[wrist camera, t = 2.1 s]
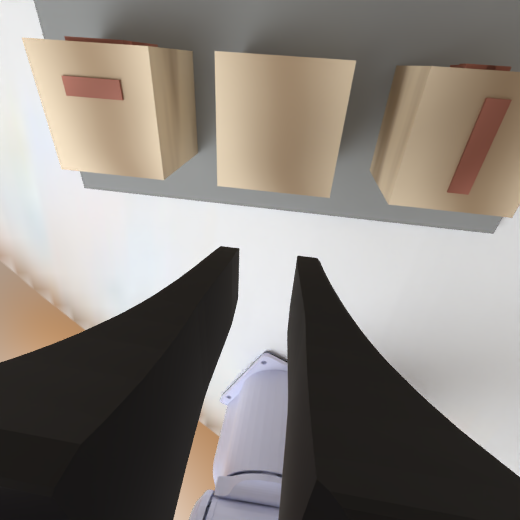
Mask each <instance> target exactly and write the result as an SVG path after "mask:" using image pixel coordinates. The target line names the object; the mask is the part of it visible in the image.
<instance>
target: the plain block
mask: <svg viewBox="0 0 520 520" xmlns="http://www.w3.org/2000/svg"><path fill="white" fill-rule="evenodd" d="M355 65H356V60H341V59H326V58H311V57H296V56H282V55H267V54H252V53H237V52H222V51H215V96H216V145H217V186H222V187H231V188H240V189H250V190H259V191H269V192H278V193H287V194H297V195H306V196H315V197H325V198H330V193H331V188H332V183H333V178H334V173H335V167H336V162H337V157H338V152H339V147H340V142H341V137H342V132H343V126H344V121H345V116H346V111H347V106H348V101H349V96H350V90H351V85H352V80H353V75H354V70H355Z"/></svg>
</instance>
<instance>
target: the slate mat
mask: <svg viewBox="0 0 520 520" xmlns="http://www.w3.org/2000/svg"><path fill="white" fill-rule="evenodd" d="M34 3H35V7H36V10H37V14H38V18H39V21H40V25H41V29H42V32H43V36H44V39H50V40H65V37H64V36H70V37H85V38H100V39H115V40H126V41H133V42H140V43H148V44H156V45H158V47H160V48H169V49H178V50H187V51H193V70H194V88H195V107H196V126H197V145H198V154H196V155H195V156H194V157H193V158H191V159H190V160H189V161H188V162H186V163H185V164H184V165H182V166H181V167H180V168H179V169H177V170H176V171H175V172H174V173H172V174H171V175H170V176H168V177H167V178H166V179H165V180H158V179H149V178H139V177H130V176H121V175H111V174H102V173H93V172H83V171H80V173H81V177H82V180H83V184H84V188H89V189H97V190H106V191H115V192H124V193H133V194H142V195H151V196H160V197H169V198H178V199H187V200H196V201H205V202H214V203H223V204H232V205H241V206H250V207H259V208H268V209H277V210H286V211H295V212H304V213H313V214H321V215H330V216H339V217H348V218H357V219H366V220H375V221H384V222H393V223H402V224H411V225H420V226H429V227H438V228H447V229H456V230H465V231H474V232H483V233H492V234H493V233H494V232H495V230H496V228H497V226H498V224H499V222H500V221H501V219H502V217H500V216H491V215H482V214H472V213H463V212H454V211H444V210H435V209H425V208H416V207H407V206H397V205H388V203H387V201H386V199H385V198H384V196H383V194H382V192H381V190H380V189H379V187H378V185H377V183H376V181H375V179H374V178H373V176H372V174H371V172H370V167H371V163H372V159H373V155H374V151H375V147H376V143H377V139H378V136H379V132H380V128H381V124H382V120H383V116H384V112H385V108H386V105H387V101H388V97H389V93H390V89H391V85H392V81H393V77H394V74H395V70H396V66H397V65H398V66H439V67H450V65H459V64H480V65H495V66H510V67H511V70H510V71H513V72H520V0H34ZM215 51H222V52H237V53H252V54H267V55H282V56H296V57H311V58H326V59H341V60H356V65H355V70H354V75H353V80H352V85H351V90H350V96H349V101H348V106H347V111H346V116H345V121H344V126H343V132H342V137H341V142H340V147H339V152H338V157H337V162H336V167H335V173H334V178H333V183H332V188H331V193H330V198H325V197H315V196H306V195H297V194H287V193H278V192H269V191H259V190H250V189H240V188H231V187H222V186H217V145H216V96H215Z"/></svg>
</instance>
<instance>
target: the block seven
mask: <svg viewBox="0 0 520 520" xmlns="http://www.w3.org/2000/svg"><path fill="white" fill-rule="evenodd" d="M64 37H65V40H50V39H35V38H22V40H23V43H24V46H25V50H26V53H27V56H28V60H29V63H30V66H31V70H32V73H33V76H34V79H35V83H36V86H37V89H38V93H39V96H40V99H41V103H42V106H43V109H44V112H45V116H46V119H47V122H48V126H49V129H50V132H51V136H52V139H53V142H54V145H55V149H56V152H57V155H58V159H59V162H60V165H61V169H64V170H74V171H83V172H93V173H102V174H111V175H121V176H130V177H139V178H149V179H158V180H165V179H166V178H167V177H168V176H170V175H171V174H172V173H174V172H175V171H176V170H177V169H179V168H180V167H181V166H182V165H184V164H185V163H186V162H188V161H189V160H190V159H191V158H193V157H194V156H195V155H196V154H198V145H197V126H196V107H195V88H194V70H193V51H187V50H178V49H169V48H160V47H158V45H156V44H148V43H140V42H133V41H126V40H115V39H100V38H85V37H70V36H64Z"/></svg>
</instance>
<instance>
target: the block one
mask: <svg viewBox="0 0 520 520" xmlns="http://www.w3.org/2000/svg"><path fill="white" fill-rule="evenodd" d="M510 70H511V67H510V66H495V65H480V64H459V65H450V67H439V66H398V65H397V66H396V70H395V74H394V77H393V81H392V85H391V89H390V93H389V97H388V101H387V105H386V108H385V112H384V116H383V120H382V124H381V128H380V132H379V136H378V139H377V143H376V147H375V151H374V155H373V159H372V163H371V167H370V172H371V174H372V176H373V178H374V179H375V181H376V183H377V185H378V187H379V189H380V190H381V192H382V194H383V196H384V198H385V199H386V201H387V203H388V205H397V206H407V207H416V208H425V209H435V210H444V211H454V212H463V213H472V214H482V215H491V216H500V217H510V218H512V217H513V215H514V213H515V212H516V210H517V208H518V206H519V205H520V72H513V71H510Z"/></svg>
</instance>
